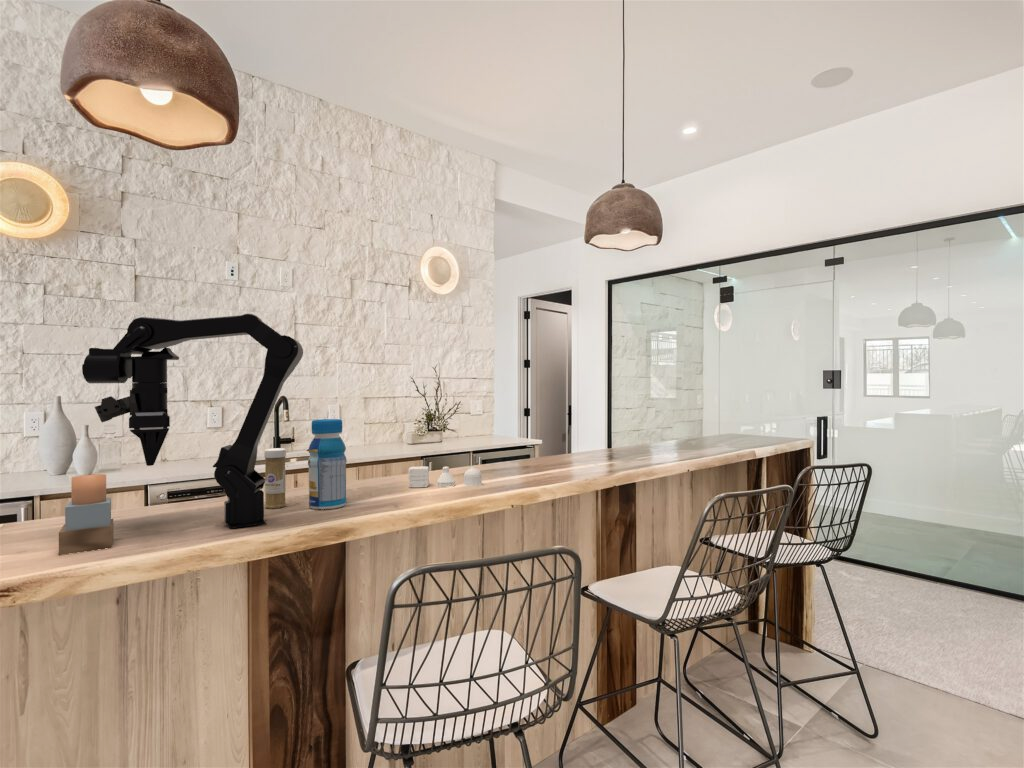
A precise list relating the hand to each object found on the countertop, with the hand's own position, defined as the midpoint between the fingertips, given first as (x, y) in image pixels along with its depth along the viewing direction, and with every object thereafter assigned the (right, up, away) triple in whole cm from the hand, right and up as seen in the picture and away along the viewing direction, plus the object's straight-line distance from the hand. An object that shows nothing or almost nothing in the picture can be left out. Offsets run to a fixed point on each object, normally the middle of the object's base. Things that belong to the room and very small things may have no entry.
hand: (150, 463), depth 106 cm
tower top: (-3, -9, -11) cm, 15 cm away
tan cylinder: (-3, -5, -11) cm, 13 cm away
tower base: (-3, -13, -11) cm, 18 cm away
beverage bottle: (+28, -13, +19) cm, 36 cm away
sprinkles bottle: (+16, -13, +20) cm, 29 cm away
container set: (+52, -13, +45) cm, 70 cm away
